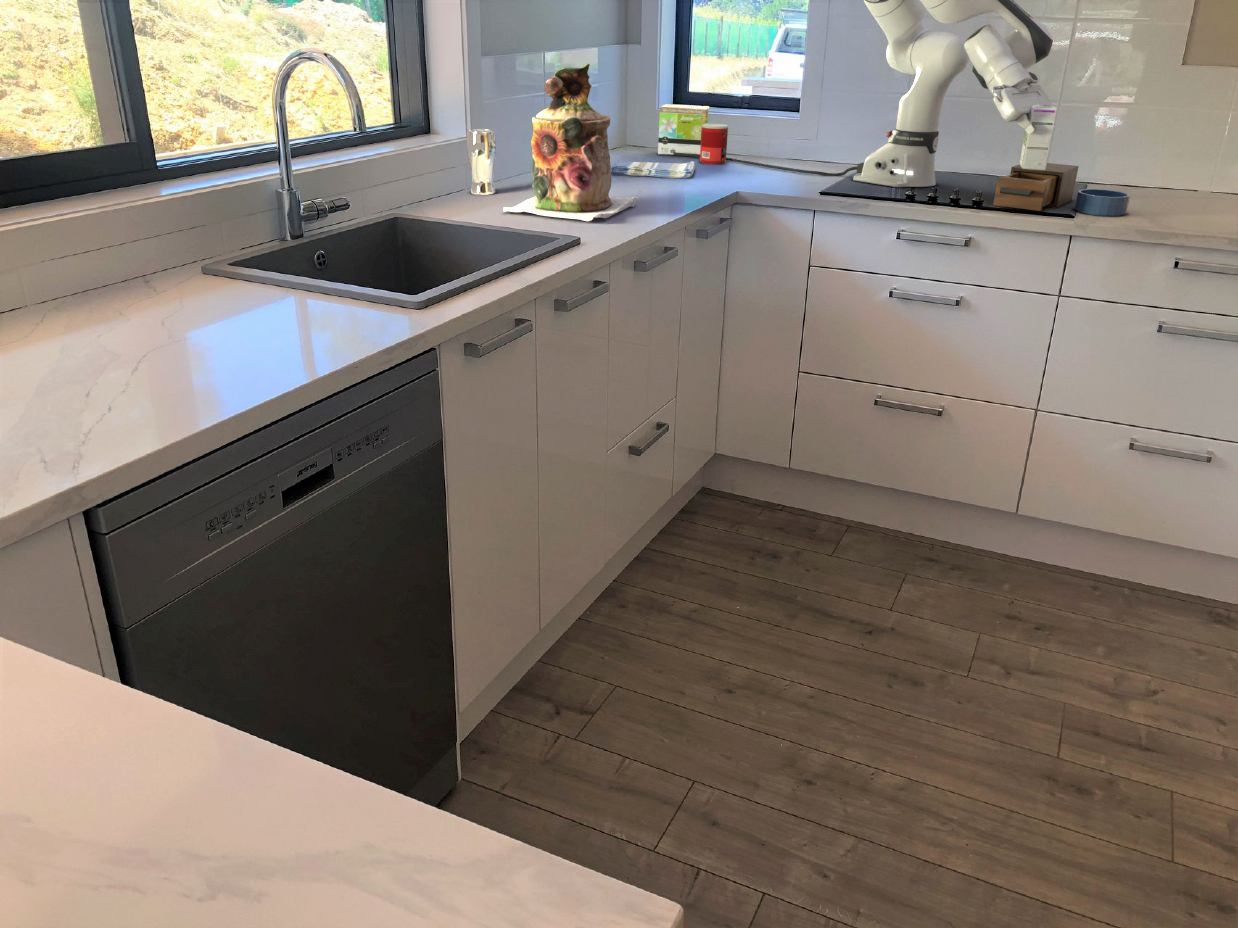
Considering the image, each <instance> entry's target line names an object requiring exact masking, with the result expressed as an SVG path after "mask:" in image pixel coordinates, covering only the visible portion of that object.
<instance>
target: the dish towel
mask: <svg viewBox="0 0 1238 928" xmlns="http://www.w3.org/2000/svg"><path fill="white" fill-rule="evenodd" d="M695 169H696V162H694V161H689V162H682V163H681V162H680V163H674V162H648V161H626V160H617V161H616V162H615V163H614V164H613V165H612V166H611V176H612V175H613V176H637V177H654V178H655V177H656V178H664V179H666V178H672V179H675V178H676V179H679V178H680V179H681V178H684V179H691V178H692V176H693V174H694V171H695Z"/></svg>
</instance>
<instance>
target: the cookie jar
mask: <svg viewBox="0 0 1238 928" xmlns="http://www.w3.org/2000/svg"><path fill="white" fill-rule="evenodd" d="M590 65H591V64H590V63H585V64H583V66H581V67H561V68H560V69H558V70H556V71H555V72H554V74H553V76H552V77H551V78H549V79H547V80H546V81H545V84H544V85H545V86H544V89H543V90H544V92H545V93H546V95H547V97H550V98H551V99H552V100H551V101H550V103H549V104H550V105H549V106H548V107H547V108H545V109H543V110H541V111H539V113H537V114H536V116H533V117H532V118H531V124H532V136H531V141H530V144H531V152H532V161H531V171H530V173H531V176H532V178H533V181H532V184H531V187H532V192H533V195H534V196H533V197H530V198H527V199H526V200H523V201H522V202H521V203H518V204H517V205H514V206H512V207H509V206H504V207H503V212H504V213H530V214H535V215H538V216H544V217H553V218H561V219H562V218H563V219H570V220H580V221H584V222H591V221H592V220H594V219H598V218H602V219H608V218H610V217H612V216H615V214H618V213H619V212H622V211H624V210H625V209H628V208H630V207H635V203H636V202H637V200H638V197H637V196H627V197H625V196H623V197H622V196H621V197H619V196H617V197H615V196H614V197H613V196H612V197H610V195H609V193H610V190H611V188H612V179H613V178H612V174H611V167H612V166H611V155H610V151H609V150H610V149H609V136H608V128H609V127H610V125H611V117H610V116H608V115H605V114H601V113H600V112H599V111H597V110H595V109H594V108H592V106H591V105H590V104H589V102H588V100H589V96H590V93H591V88H592V84H591V83H590V75H589V69H590Z"/></svg>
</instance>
